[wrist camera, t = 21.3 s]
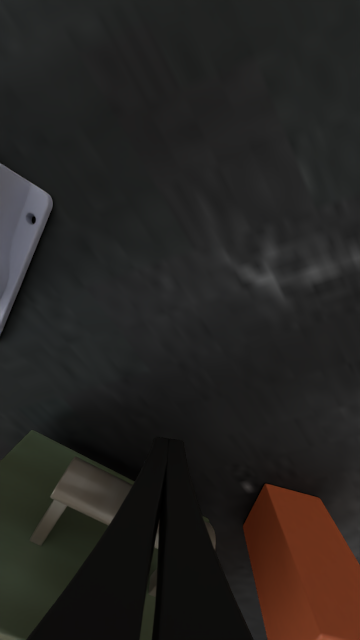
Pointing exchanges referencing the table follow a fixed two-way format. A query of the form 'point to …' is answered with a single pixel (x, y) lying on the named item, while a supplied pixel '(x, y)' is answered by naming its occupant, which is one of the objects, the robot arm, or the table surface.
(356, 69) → the table surface
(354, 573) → the block
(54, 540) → the drawer
